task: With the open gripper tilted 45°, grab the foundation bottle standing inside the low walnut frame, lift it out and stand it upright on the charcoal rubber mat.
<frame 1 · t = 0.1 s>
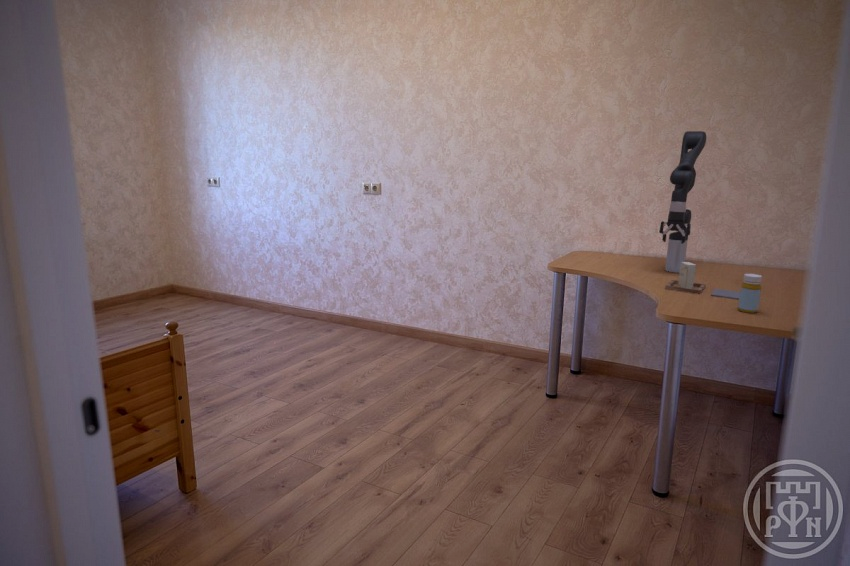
hand: (673, 242, 285), 17 cm above the table, tool pointing down, fingers open, 8 cm apart
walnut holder: (685, 288, 264), on the table
skincare box: (685, 288, 264), resting in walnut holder
bottle: (747, 311, 229), on the table
charcoal mat: (727, 294, 254), on the table
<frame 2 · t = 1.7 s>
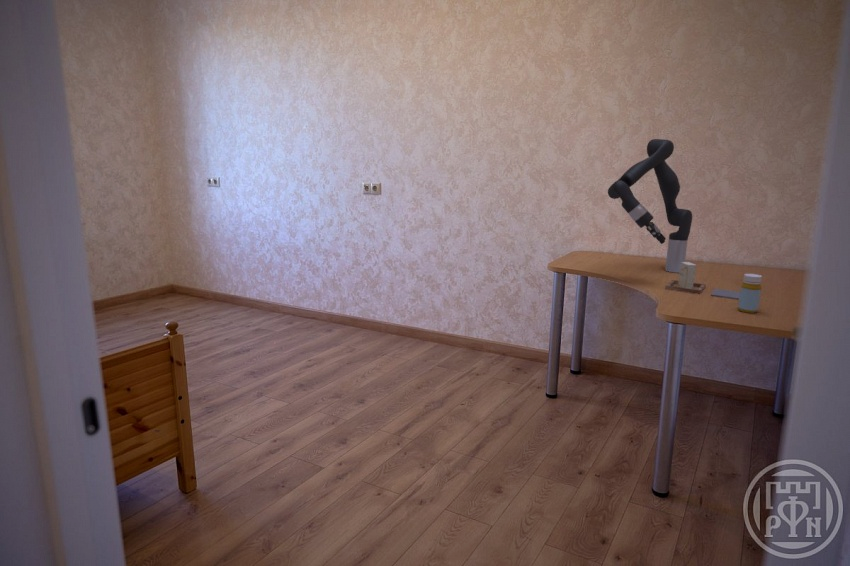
hand: (663, 241, 264), 21 cm above the table, tool tilted 45°, fingers open, 8 cm apart
nothing on the table moved.
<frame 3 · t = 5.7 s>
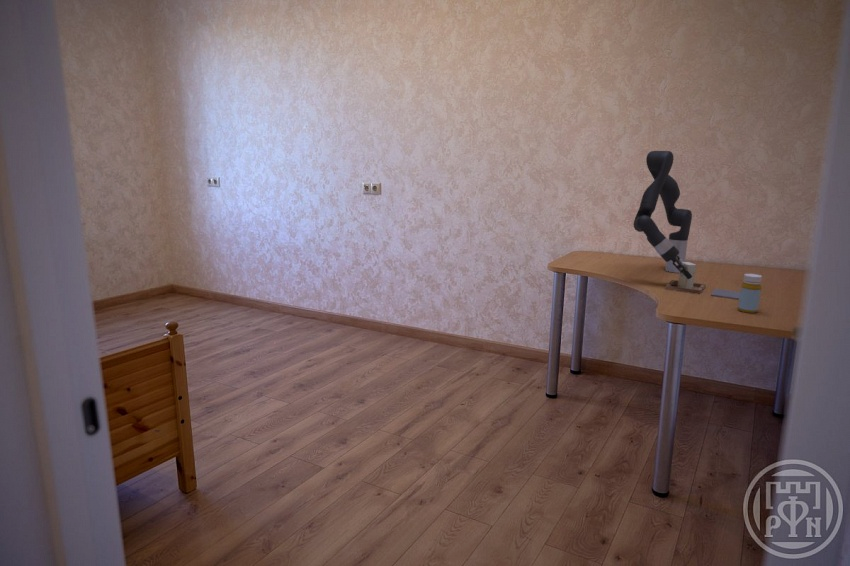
hand: (690, 276, 262), 6 cm above the table, tool tilted 45°, fingers closed on skincare box, 7 cm apart
skincare box: (685, 288, 264), resting in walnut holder, touching gripper
everything else where it was.
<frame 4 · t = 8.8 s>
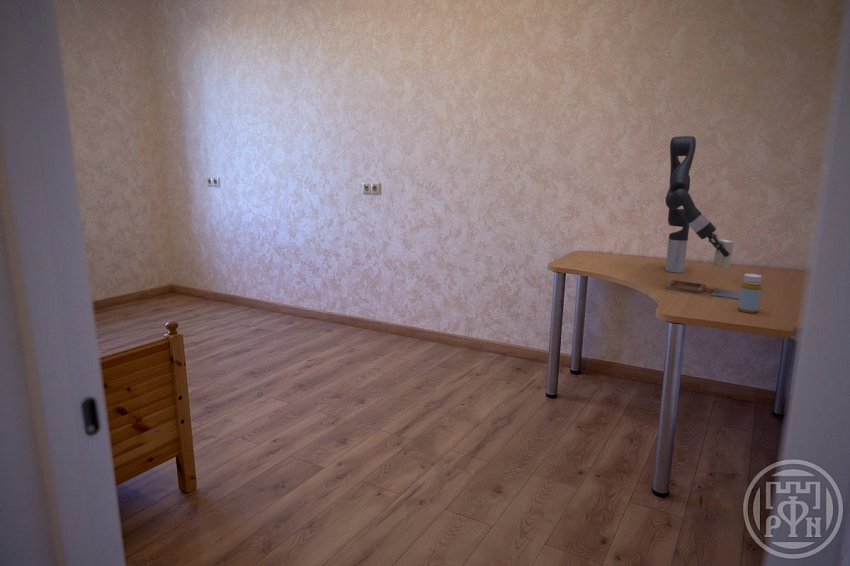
hand: (727, 254, 250), 18 cm above the table, tool tilted 45°, fingers closed on skincare box, 7 cm apart
skincare box: (721, 267, 252), point 12 cm above the table, touching gripper
everything else where it was.
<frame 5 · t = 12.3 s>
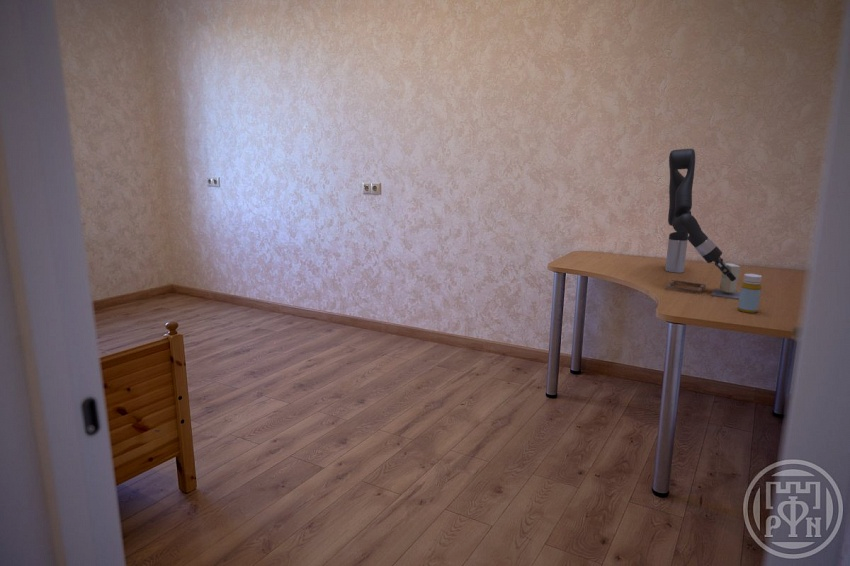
hand: (733, 278, 251), 8 cm above the table, tool tilted 45°, fingers closed on skincare box, 7 cm apart
skincare box: (727, 291, 253), point 2 cm above the table, touching gripper
everything else where it was.
when the fingers open (8 cm above the table, at t = 12.3 s): skincare box drops 1 cm, resting on charcoal mat.
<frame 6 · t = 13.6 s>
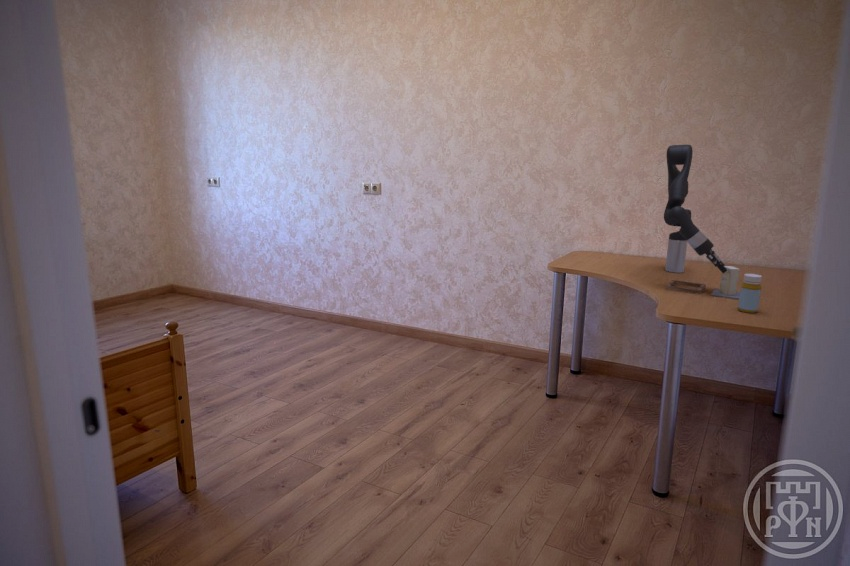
hand: (724, 269, 252), 11 cm above the table, tool tilted 45°, fingers open, 8 cm apart
skincare box: (727, 293, 253), resting on charcoal mat
everything else where it was.
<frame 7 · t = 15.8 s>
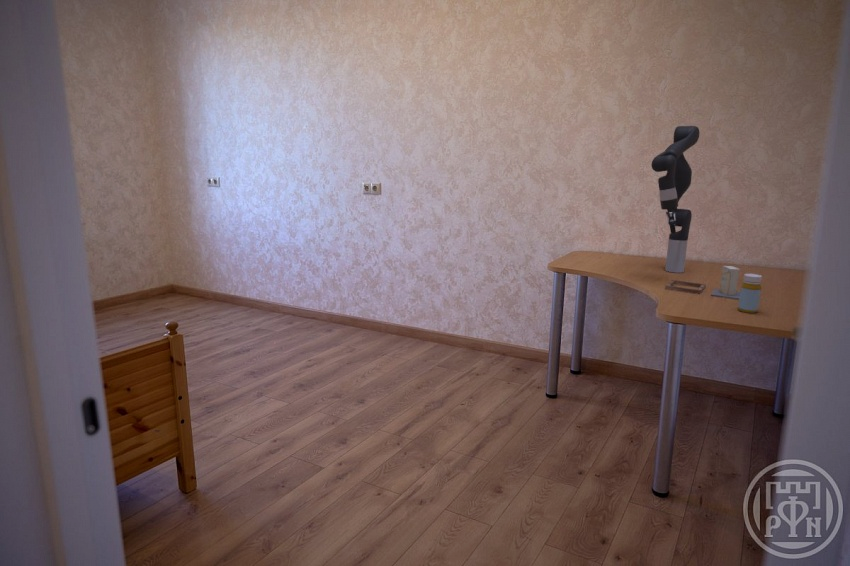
hand: (673, 231, 268), 25 cm above the table, tool pointing down, fingers open, 8 cm apart
nothing on the table moved.
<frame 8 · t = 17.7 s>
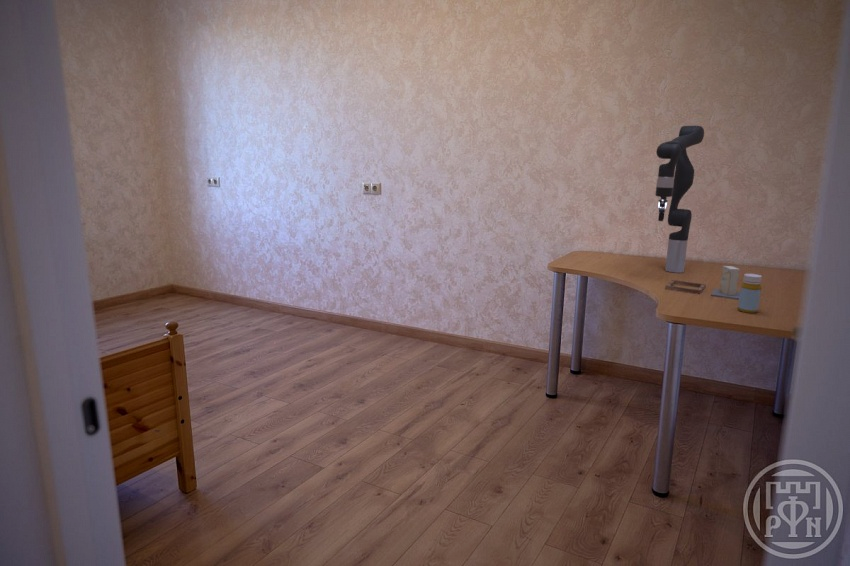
hand: (661, 220, 273), 30 cm above the table, tool pointing down, fingers open, 8 cm apart
nothing on the table moved.
at the end: skincare box inside the target area on the charcoal mat (0.3 cm from its centre), point 0.4 cm above the charcoal mat's base; skincare box tilted 0°; the gripper is holding nothing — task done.
